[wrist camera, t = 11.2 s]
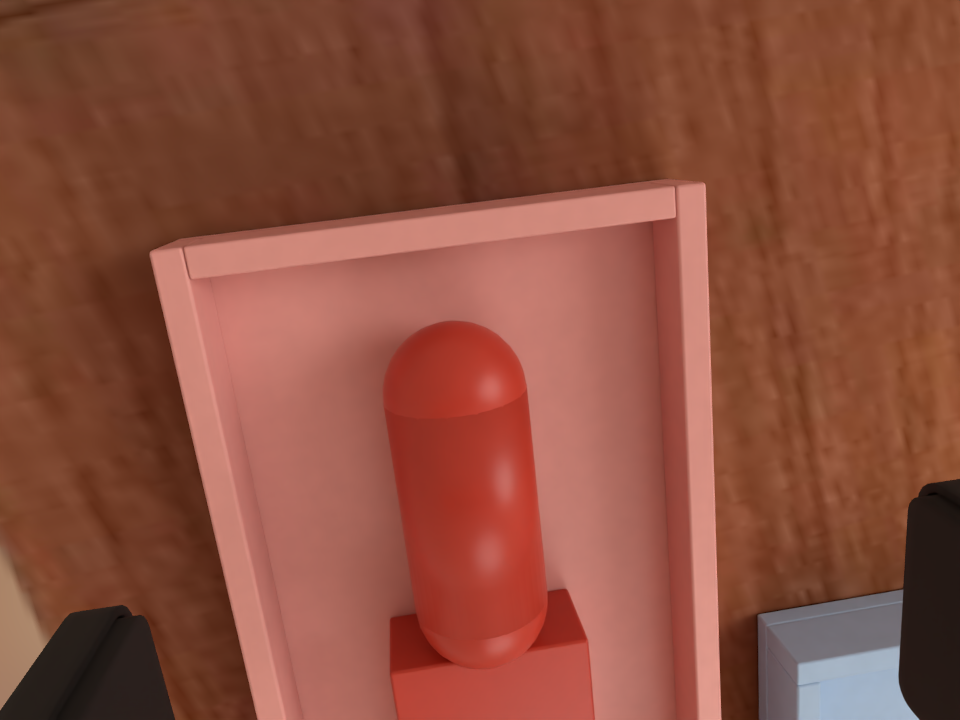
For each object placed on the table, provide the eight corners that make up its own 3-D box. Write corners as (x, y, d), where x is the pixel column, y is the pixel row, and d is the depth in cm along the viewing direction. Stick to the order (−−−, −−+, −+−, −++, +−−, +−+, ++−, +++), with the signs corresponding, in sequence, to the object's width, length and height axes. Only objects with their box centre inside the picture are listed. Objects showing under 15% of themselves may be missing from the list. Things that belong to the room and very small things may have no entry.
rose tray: (315, 862, 20) (307, 939, 18) (177, 238, 15) (147, 251, 13) (694, 791, 20) (726, 856, 19) (669, 178, 16) (707, 182, 14)
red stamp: (339, 321, 16) (328, 357, 13) (540, 294, 16) (571, 323, 13) (419, 796, 19) (424, 903, 16) (584, 766, 19) (615, 866, 17)
